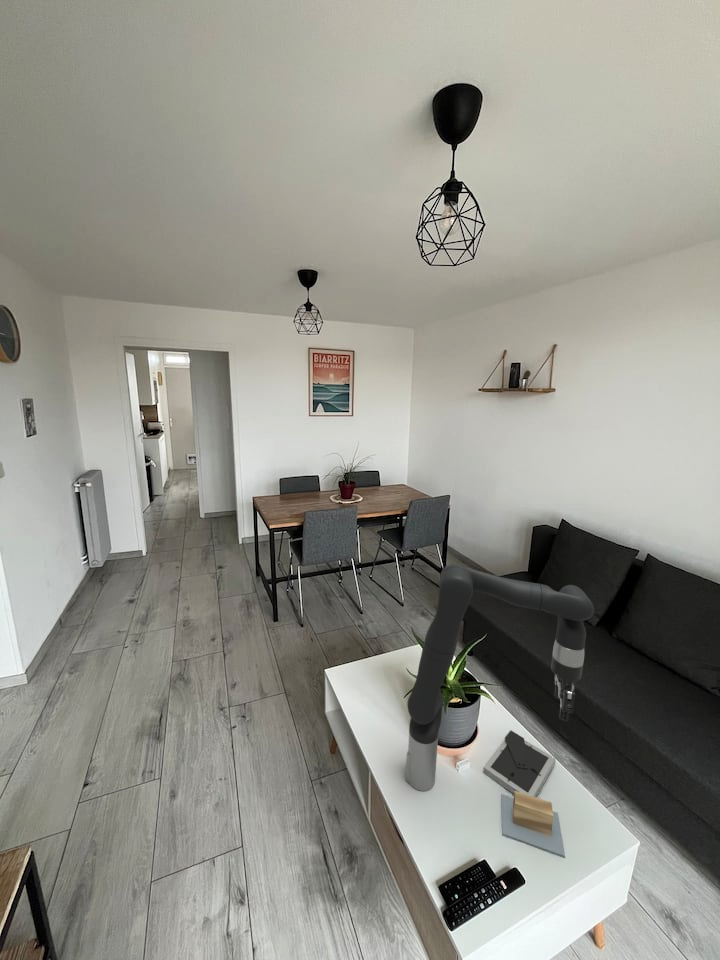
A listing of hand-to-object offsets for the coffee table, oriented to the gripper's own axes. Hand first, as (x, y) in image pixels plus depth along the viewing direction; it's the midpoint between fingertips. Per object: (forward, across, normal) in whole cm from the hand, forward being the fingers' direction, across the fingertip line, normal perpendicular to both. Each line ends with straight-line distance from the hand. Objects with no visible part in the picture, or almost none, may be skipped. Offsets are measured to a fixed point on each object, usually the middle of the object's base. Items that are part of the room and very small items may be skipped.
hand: (561, 708), depth 106 cm
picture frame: (+36, +13, +7) cm, 39 cm away
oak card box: (+36, -5, +5) cm, 36 cm away
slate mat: (+36, -5, +5) cm, 37 cm away
